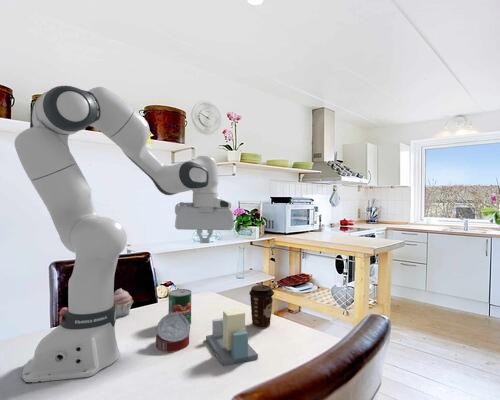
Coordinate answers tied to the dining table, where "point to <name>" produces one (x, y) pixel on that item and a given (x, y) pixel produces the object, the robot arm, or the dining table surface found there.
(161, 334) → the canned food
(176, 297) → the canned tomato
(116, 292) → the cupcake
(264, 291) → the coffee cup
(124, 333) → the dining table surface
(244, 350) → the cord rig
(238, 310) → the sleeve
